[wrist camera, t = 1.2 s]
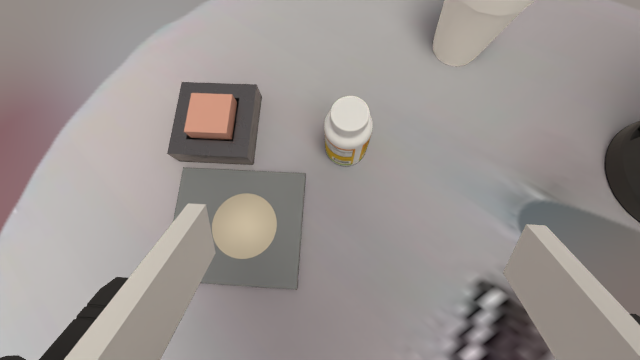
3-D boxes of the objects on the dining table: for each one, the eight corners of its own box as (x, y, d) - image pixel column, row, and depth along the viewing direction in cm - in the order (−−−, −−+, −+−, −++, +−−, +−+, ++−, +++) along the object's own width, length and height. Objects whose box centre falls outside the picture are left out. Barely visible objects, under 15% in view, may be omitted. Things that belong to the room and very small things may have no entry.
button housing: (261, 96, 41) (256, 84, 39) (253, 164, 39) (247, 157, 36) (192, 94, 42) (181, 82, 39) (179, 161, 39) (167, 153, 36)
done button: (237, 102, 39) (232, 94, 37) (231, 139, 37) (226, 133, 35) (198, 101, 39) (191, 92, 37) (191, 137, 37) (183, 131, 36)
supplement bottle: (354, 122, 40) (361, 80, 31) (373, 156, 39) (386, 123, 29) (318, 138, 40) (314, 101, 30) (336, 173, 38) (337, 146, 29)
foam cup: (410, 32, 43) (443, -60, 31) (467, 11, 44) (521, -88, 31) (441, 85, 41) (490, 9, 28) (500, 62, 41) (574, -23, 29)
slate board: (305, 174, 38) (305, 173, 38) (297, 288, 35) (296, 289, 34) (185, 168, 39) (182, 167, 38) (165, 279, 36) (161, 280, 35)
